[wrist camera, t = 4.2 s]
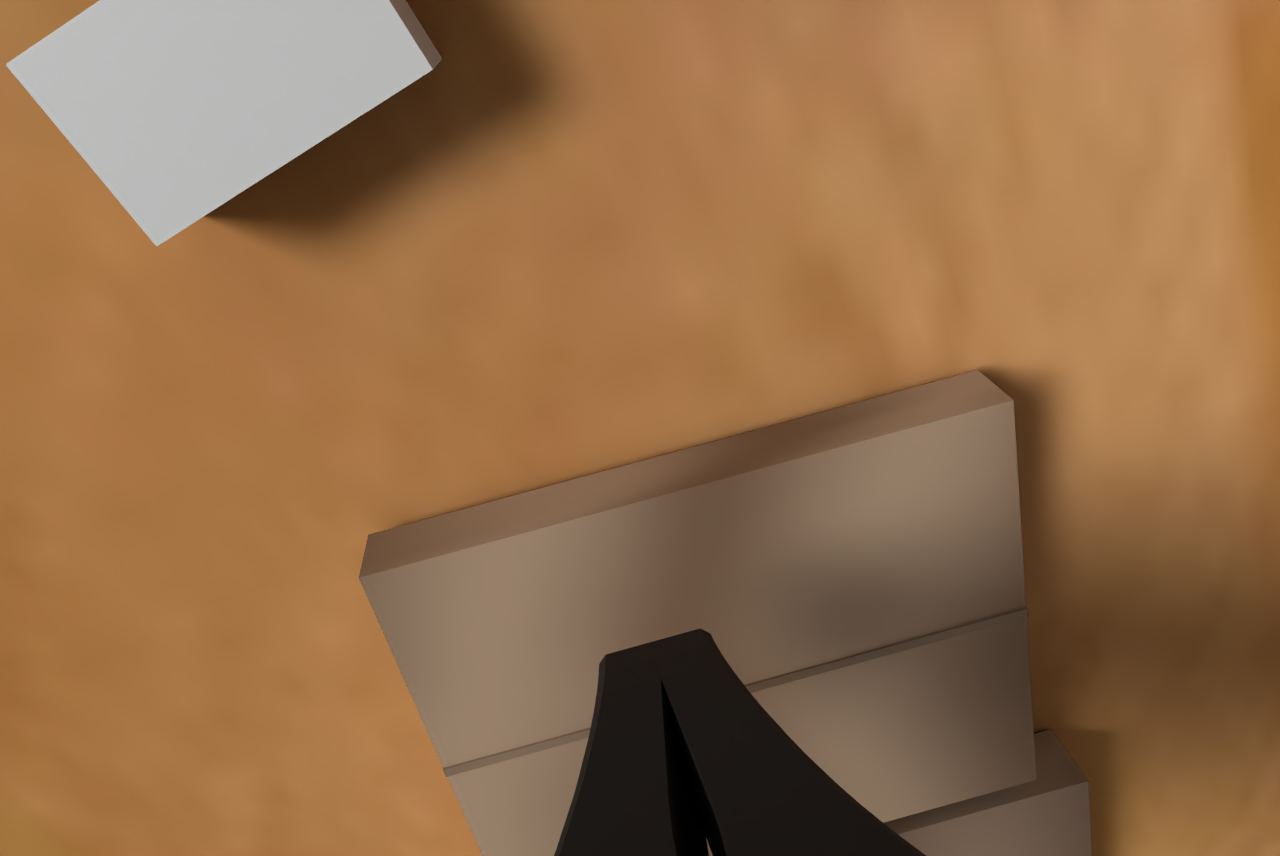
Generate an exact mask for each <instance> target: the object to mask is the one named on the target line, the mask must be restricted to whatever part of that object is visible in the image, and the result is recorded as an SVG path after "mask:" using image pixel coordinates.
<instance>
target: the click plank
mask: <svg viewBox="0 0 1280 856" xmlns="http://www.w3.org/2000/svg"><path fill="white" fill-rule="evenodd" d="M359 579H360V581H361V584H362V586H363V588H364V590H365V593H366V595H367V597H368V599H369V602H370V604H371V606H372V608H373V611H374V613H375V615H376V617H377V620H378V622H379V624H380V626H381V629H382V631H383V633H384V635H385V638H386V640H387V642H388V644H389V647H390V649H391V651H392V653H393V656H394V658H395V660H396V662H397V665H398V667H399V669H400V671H401V674H402V676H403V678H404V680H405V683H406V685H407V687H408V689H409V692H410V694H411V696H412V698H413V700H414V703H415V705H416V707H417V709H418V712H419V714H420V716H421V718H422V721H423V723H424V725H425V727H426V730H427V732H428V734H429V736H430V739H431V741H432V743H433V745H434V748H435V750H436V752H437V754H438V757H439V759H440V761H441V763H442V766H443V771H444V773H445V775H446V777H448V779H449V781H450V784H451V786H452V788H453V790H454V793H455V795H456V797H457V799H458V802H459V804H460V806H461V808H462V811H463V813H464V815H465V817H466V820H467V822H468V824H469V826H470V829H471V831H472V833H473V835H474V838H475V840H476V842H477V844H478V847H479V849H480V851H481V853H482V856H554V854H555V851H556V849H557V845H558V842H559V839H560V836H561V833H562V830H563V827H564V824H565V821H566V818H567V815H568V812H569V809H570V805H571V802H572V799H573V796H574V793H575V789H576V786H577V782H578V778H579V774H580V770H581V766H582V762H583V758H584V754H585V750H586V746H587V742H588V738H589V733H590V728H591V723H592V718H593V713H594V707H595V701H596V694H597V686H598V676H599V664H600V662H601V661H602V659H603V658H604V656H605V655H606V654H610V653H613V652H617V651H620V650H624V649H628V648H631V647H635V646H638V645H642V644H646V643H649V642H653V641H656V640H660V639H664V638H667V637H671V636H674V635H678V634H682V633H685V632H689V631H692V630H696V629H700V628H701V629H703V630H705V631H707V632H708V633H710V634H711V635H712V638H713V640H714V642H715V643H716V645H717V647H718V648H719V650H720V652H721V653H722V655H723V657H724V658H725V660H726V661H727V663H728V664H729V665H730V667H731V668H732V670H733V671H734V672H735V674H736V675H737V676H738V678H739V679H740V680H741V681H742V683H743V684H744V685H745V687H746V688H747V689H748V690H749V692H750V693H751V694H752V695H753V697H754V698H755V699H756V700H757V701H758V703H759V704H760V705H761V706H762V707H763V708H764V709H765V711H766V712H767V713H768V714H769V715H770V716H771V717H772V718H773V719H774V721H775V722H776V723H777V724H778V725H779V726H780V727H781V728H782V729H783V730H784V732H785V733H786V734H787V735H788V736H789V737H790V738H791V739H792V740H793V741H794V742H795V743H796V744H797V745H798V746H799V747H800V748H801V749H802V750H803V751H804V752H805V753H806V754H807V755H808V756H809V757H810V758H811V759H812V760H813V761H814V762H815V763H816V764H817V765H818V766H819V767H820V768H821V769H822V770H823V771H824V772H825V773H826V774H827V775H828V776H829V777H831V778H832V779H833V780H834V781H835V782H836V783H837V784H838V785H839V786H840V787H842V788H843V789H844V790H845V791H846V792H847V793H848V794H849V795H850V796H852V797H853V798H854V799H855V800H856V801H857V802H859V803H860V804H861V805H862V806H863V807H864V808H866V809H867V810H868V811H869V812H871V813H872V814H873V815H874V816H875V817H877V818H878V819H879V820H880V821H882V822H883V823H884V822H888V821H891V820H895V819H898V818H902V817H905V816H909V815H913V814H916V813H920V812H923V811H927V810H931V809H934V808H938V807H941V806H945V805H948V804H952V803H956V802H959V801H963V800H966V799H970V798H973V797H977V796H981V795H984V794H988V793H991V792H995V791H999V790H1002V789H1006V788H1009V787H1013V786H1016V785H1020V784H1024V783H1027V782H1031V781H1034V780H1037V779H1036V762H1035V746H1034V729H1033V713H1032V696H1031V680H1030V663H1029V647H1028V630H1027V617H1028V609H1027V608H1026V597H1025V581H1024V564H1023V548H1022V531H1021V515H1020V499H1019V482H1018V466H1017V449H1016V433H1015V416H1014V400H1013V399H1012V398H1010V397H1009V396H1008V395H1007V394H1006V393H1005V392H1003V391H1002V390H1001V389H1000V388H999V387H997V386H996V385H995V384H994V383H993V382H991V381H990V380H989V379H988V378H987V377H986V376H984V375H983V374H982V373H981V372H980V371H978V370H975V371H972V372H968V373H964V374H961V375H957V376H953V377H949V378H946V379H942V380H938V381H935V382H931V383H927V384H924V385H920V386H916V387H912V388H909V389H905V390H901V391H898V392H894V393H890V394H887V395H883V396H879V397H876V398H872V399H868V400H864V401H861V402H857V403H853V404H850V405H846V406H842V407H839V408H835V409H831V410H828V411H824V412H820V413H816V414H813V415H809V416H805V417H802V418H798V419H794V420H791V421H787V422H783V423H780V424H776V425H772V426H768V427H765V428H761V429H757V430H754V431H750V432H746V433H743V434H739V435H735V436H731V437H728V438H724V439H720V440H717V441H713V442H709V443H706V444H702V445H698V446H695V447H691V448H687V449H683V450H680V451H676V452H672V453H669V454H665V455H661V456H658V457H654V458H650V459H647V460H643V461H639V462H635V463H632V464H628V465H624V466H621V467H617V468H613V469H610V470H606V471H602V472H599V473H595V474H591V475H587V476H584V477H580V478H576V479H573V480H569V481H565V482H562V483H558V484H554V485H551V486H547V487H543V488H539V489H536V490H532V491H528V492H525V493H521V494H517V495H514V496H510V497H506V498H502V499H499V500H495V501H491V502H488V503H484V504H480V505H477V506H473V507H469V508H466V509H462V510H458V511H454V512H451V513H447V514H443V515H440V516H436V517H432V518H429V519H425V520H421V521H418V522H414V523H410V524H406V525H403V526H399V527H395V528H392V529H388V530H384V531H381V532H377V533H373V534H370V535H368V539H367V544H366V548H365V553H364V557H363V562H362V566H361V571H360V575H359ZM706 839H707V838H706ZM707 846H708V852H709V856H713V855H712V852H711V849H710V847H709V844H708V841H707Z"/></svg>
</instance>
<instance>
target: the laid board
mask: <svg viewBox="0 0 1280 856" xmlns="http://www.w3.org/2000/svg"><path fill="white" fill-rule="evenodd" d="M1034 746H1035V762H1036V779H1037V780H1034V781H1031V782H1027V783H1024V784H1020V785H1016V786H1013V787H1009V788H1006V789H1002V790H999V791H995V792H991V793H988V794H984V795H981V796H977V797H973V798H970V799H966V800H963V801H959V802H956V803H952V804H948V805H945V806H941V807H938V808H934V809H931V810H927V811H923V812H920V813H916V814H913V815H909V816H905V817H902V818H898V819H895V820H891V821H888V822H884V824H885V825H887V826H888V827H889V828H890V829H891V830H893V831H894V832H895V833H897V834H898V835H899V836H901V837H902V838H903V839H905V840H906V841H907V842H909V843H910V844H911V845H913V846H914V847H915V848H917V849H918V850H919V851H921V852H922V853H923V854H925V855H926V856H1092V846H1091V821H1090V796H1089V780H1088V779H1087V778H1086V776H1085V775H1084V774H1083V772H1082V771H1081V770H1080V768H1079V767H1078V766H1077V764H1076V763H1075V761H1074V760H1073V759H1072V757H1071V756H1070V755H1069V753H1068V752H1067V751H1066V749H1065V748H1064V747H1063V745H1062V744H1061V743H1060V741H1059V740H1058V738H1057V737H1056V736H1055V734H1054V733H1053V732H1052V730H1051V729H1050V730H1046V731H1043V732H1039V733H1035V734H1034Z"/></svg>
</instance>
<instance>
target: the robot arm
mask: <svg viewBox="0 0 1280 856" xmlns="http://www.w3.org/2000/svg"><path fill="white" fill-rule="evenodd" d="M706 838H707V839H706ZM707 841H708V844H709V847H710V849H711V852H712V855H713V856H926V855H925V854H923V853H922V852H921V851H919V850H918V849H917V848H915V847H914V846H913V845H911V844H910V843H909V842H907V841H906V840H905V839H903V838H902V837H901V836H899V835H898V834H897V833H895V832H894V831H893V830H891V829H890V828H889V827H888V826H887V825H885V824H884V823H883V822H882V821H880V820H879V819H878V818H877V817H875V816H874V815H873V814H872V813H871V812H869V811H868V810H867V809H866V808H864V807H863V806H862V805H861V804H860V803H859V802H857V801H856V800H855V799H854V798H853V797H852V796H850V795H849V794H848V793H847V792H846V791H845V790H844V789H843V788H842V787H840V786H839V785H838V784H837V783H836V782H835V781H834V780H833V779H832V778H831V777H829V776H828V775H827V774H826V773H825V772H824V771H823V770H822V769H821V768H820V767H819V766H818V765H817V764H816V763H815V762H814V761H813V760H812V759H811V758H810V757H809V756H808V755H807V754H806V753H805V752H804V751H803V750H802V749H801V748H800V747H799V746H798V745H797V744H796V743H795V742H794V741H793V740H792V739H791V738H790V737H789V736H788V735H787V734H786V733H785V732H784V730H783V729H782V728H781V727H780V726H779V725H778V724H777V723H776V722H775V721H774V719H773V718H772V717H771V716H770V715H769V714H768V713H767V712H766V711H765V709H764V708H763V707H762V706H761V705H760V704H759V703H758V701H757V700H756V699H755V698H754V697H753V695H752V694H751V693H750V692H749V690H748V689H747V688H746V687H745V685H744V684H743V683H742V681H741V680H740V679H739V678H738V676H737V675H736V674H735V672H734V671H733V670H732V668H731V667H730V665H729V664H728V663H727V661H726V660H725V658H724V657H723V655H722V653H721V652H720V650H719V648H718V647H717V645H716V643H715V642H714V640H713V638H712V635H711V634H710V633H708V632H707V631H705V630H703V629H701V628H700V629H696V630H692V631H689V632H685V633H682V634H678V635H674V636H671V637H667V638H664V639H660V640H656V641H653V642H649V643H646V644H642V645H638V646H635V647H631V648H628V649H624V650H620V651H617V652H613V653H610V654H606V655H605V656H604V658H603V659H602V661H601V662H600V664H599V676H598V686H597V694H596V701H595V707H594V713H593V718H592V723H591V728H590V733H589V738H588V742H587V746H586V750H585V754H584V758H583V762H582V766H581V770H580V774H579V778H578V782H577V786H576V789H575V793H574V796H573V799H572V802H571V805H570V809H569V812H568V815H567V818H566V821H565V824H564V827H563V830H562V833H561V836H560V839H559V842H558V845H557V849H556V851H555V854H554V856H709V852H708V846H707Z"/></svg>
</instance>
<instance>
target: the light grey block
mask: <svg viewBox="0 0 1280 856" xmlns="http://www.w3.org/2000/svg"><path fill="white" fill-rule="evenodd" d="M441 60H442V57H441V56H440V54H439V53H438V51H437V49H436V48H435V46H434V45H433V43H432V41H431V40H430V38H429V37H428V35H427V33H426V32H425V30H424V29H423V27H422V25H421V24H420V22H419V21H418V19H417V17H416V16H415V14H414V13H413V11H412V9H411V8H410V6H409V5H408V3H407V2H406V0H100V1H98V2H97V3H95V4H94V5H92V6H91V7H89V8H88V9H86V10H85V11H83V12H82V13H80V14H79V15H77V16H76V17H75V18H73V19H72V20H70V21H69V22H67V23H66V24H64V25H63V26H61V27H60V28H58V29H57V30H55V31H54V32H52V33H51V34H50V35H48V36H47V37H45V38H44V39H42V40H41V41H39V42H38V43H36V44H35V45H33V46H32V47H30V48H29V49H27V50H26V51H25V52H23V53H22V54H20V55H19V56H17V57H16V58H14V59H13V60H11V61H10V62H8V63H7V64H5V65H6V66H7V67H8V68H9V69H10V71H11V72H12V73H13V74H14V75H15V77H16V78H17V79H18V80H19V81H20V83H21V84H22V85H23V86H24V87H25V89H26V90H27V91H28V92H29V93H30V95H31V96H32V97H33V98H34V99H35V101H36V102H37V103H38V104H39V105H40V107H41V108H42V109H43V110H44V112H45V113H46V114H47V115H48V116H49V118H50V119H51V120H52V121H53V122H54V124H55V125H56V126H57V127H58V128H59V130H60V131H61V132H62V133H63V134H64V136H65V137H66V138H67V139H68V140H69V142H70V143H71V144H72V145H73V146H74V148H75V149H76V150H77V151H78V152H79V154H80V155H81V156H82V157H83V158H84V160H85V161H86V162H87V163H88V165H89V166H90V167H91V168H92V169H93V171H94V172H95V173H96V174H97V175H98V177H99V178H100V179H101V180H102V181H103V183H104V184H105V185H106V186H107V187H108V189H109V190H110V191H111V192H112V193H113V195H114V196H115V197H116V198H117V199H118V201H119V202H120V203H121V204H122V205H123V207H124V208H125V209H126V210H127V212H128V213H129V214H130V215H131V216H132V218H133V219H134V220H135V221H136V222H137V224H138V225H139V226H140V227H141V228H142V230H143V231H144V232H145V233H146V234H147V236H148V237H149V238H150V239H151V240H152V242H153V243H154V244H155V245H156V246H158V245H160V244H161V243H163V242H164V241H166V240H168V239H169V238H171V237H172V236H174V235H175V234H177V233H179V232H180V231H182V230H183V229H185V228H186V227H188V226H189V225H191V224H193V223H194V222H196V221H197V220H199V219H200V218H202V217H204V216H205V215H207V214H208V213H210V212H211V211H213V210H214V209H216V208H218V207H219V206H221V205H222V204H224V203H225V202H227V201H229V200H230V199H232V198H233V197H235V196H236V195H238V194H239V193H241V192H243V191H244V190H246V189H247V188H249V187H250V186H252V185H254V184H255V183H257V182H258V181H260V180H261V179H263V178H264V177H266V176H268V175H269V174H271V173H272V172H274V171H275V170H277V169H279V168H280V167H282V166H283V165H285V164H286V163H288V162H289V161H291V160H293V159H294V158H296V157H297V156H299V155H300V154H302V153H304V152H305V151H307V150H308V149H310V148H311V147H313V146H314V145H316V144H318V143H319V142H321V141H322V140H324V139H325V138H327V137H329V136H330V135H332V134H333V133H335V132H336V131H338V130H339V129H341V128H343V127H344V126H346V125H347V124H349V123H350V122H352V121H354V120H355V119H357V118H358V117H360V116H361V115H363V114H364V113H366V112H368V111H369V110H371V109H372V108H374V107H375V106H377V105H379V104H380V103H382V102H383V101H385V100H386V99H388V98H389V97H391V96H393V95H394V94H396V93H397V92H399V91H400V90H402V89H404V88H405V87H407V86H408V85H410V84H411V83H413V82H414V81H416V80H418V79H419V78H421V77H422V76H424V75H425V74H427V73H429V72H430V71H432V70H433V69H434V68H435V67H436V66H437V65H438V64H439V63H440V61H441Z"/></svg>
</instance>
